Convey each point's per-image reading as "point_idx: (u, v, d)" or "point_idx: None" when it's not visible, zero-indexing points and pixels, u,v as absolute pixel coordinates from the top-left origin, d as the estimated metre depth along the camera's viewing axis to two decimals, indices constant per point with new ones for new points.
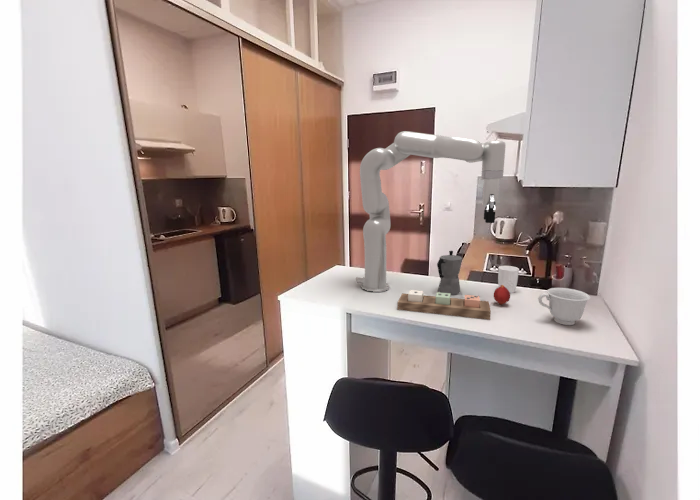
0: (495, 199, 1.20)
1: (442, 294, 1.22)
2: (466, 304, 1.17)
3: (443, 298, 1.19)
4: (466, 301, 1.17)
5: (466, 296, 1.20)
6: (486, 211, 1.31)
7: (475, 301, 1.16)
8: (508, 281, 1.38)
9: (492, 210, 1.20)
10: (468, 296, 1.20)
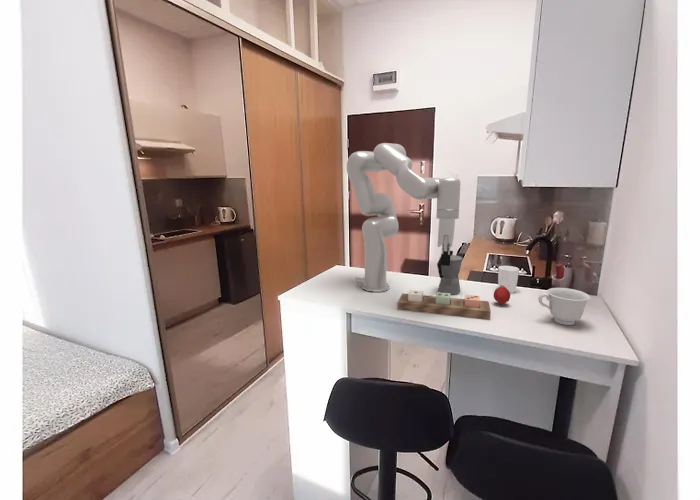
0: (449, 246, 1.14)
1: (442, 294, 1.22)
2: (466, 304, 1.17)
3: (443, 298, 1.19)
4: (466, 301, 1.17)
5: (466, 296, 1.20)
6: None
7: (475, 301, 1.16)
8: (508, 281, 1.38)
9: (446, 253, 1.16)
10: (468, 296, 1.20)
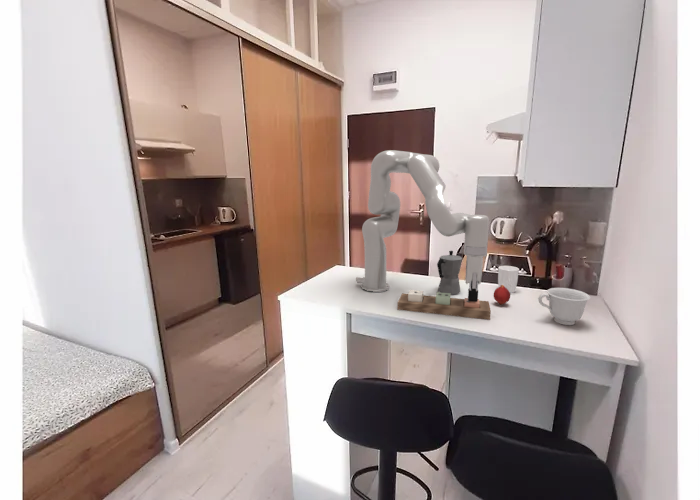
0: (478, 283, 1.13)
1: (442, 294, 1.22)
2: None
3: (443, 298, 1.19)
4: (466, 304, 1.17)
5: (466, 299, 1.20)
6: None
7: (475, 304, 1.16)
8: (508, 281, 1.38)
9: (475, 289, 1.15)
10: None
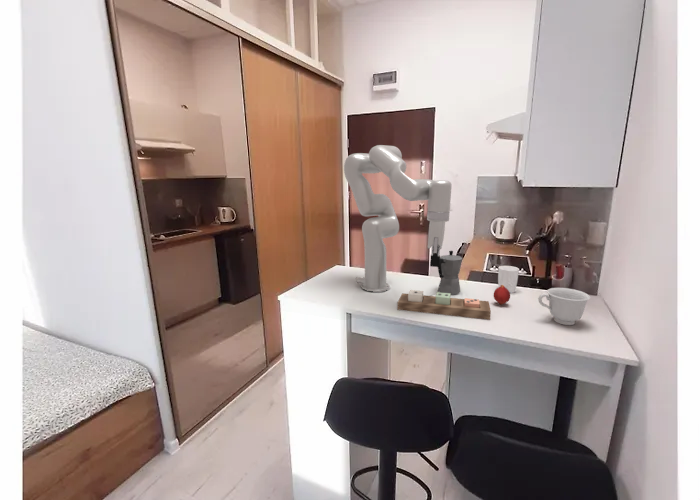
0: (439, 248, 1.15)
1: (442, 294, 1.22)
2: None
3: (443, 298, 1.19)
4: (466, 305, 1.17)
5: (466, 299, 1.20)
6: None
7: (475, 304, 1.16)
8: (508, 281, 1.38)
9: (436, 255, 1.18)
10: (468, 300, 1.20)
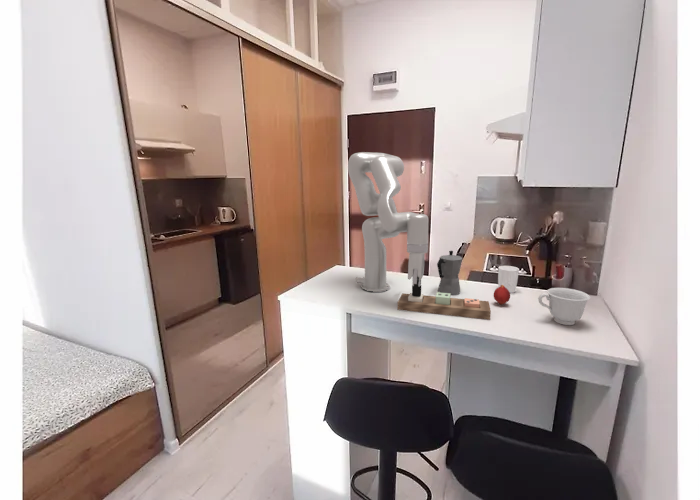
0: (419, 279, 1.19)
1: (442, 294, 1.22)
2: None
3: (443, 298, 1.19)
4: (466, 305, 1.17)
5: (466, 299, 1.20)
6: None
7: (475, 304, 1.16)
8: (508, 281, 1.38)
9: (417, 285, 1.22)
10: (468, 300, 1.20)
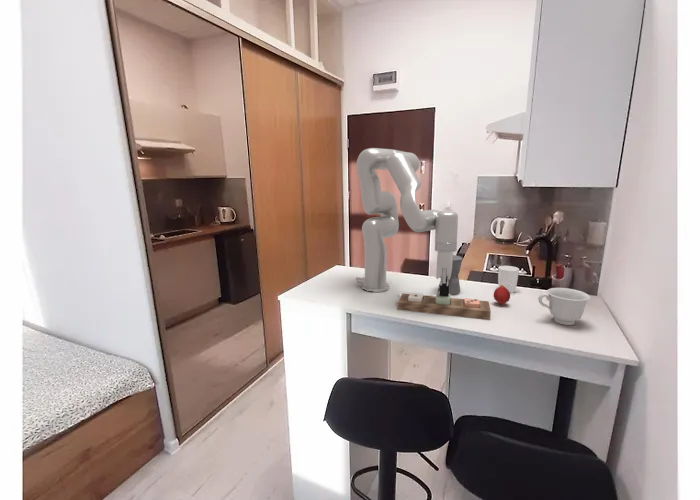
0: (448, 278, 1.16)
1: None
2: None
3: (443, 299, 1.19)
4: (466, 305, 1.17)
5: (466, 299, 1.20)
6: None
7: (475, 304, 1.16)
8: (508, 281, 1.38)
9: (445, 284, 1.18)
10: (468, 300, 1.20)
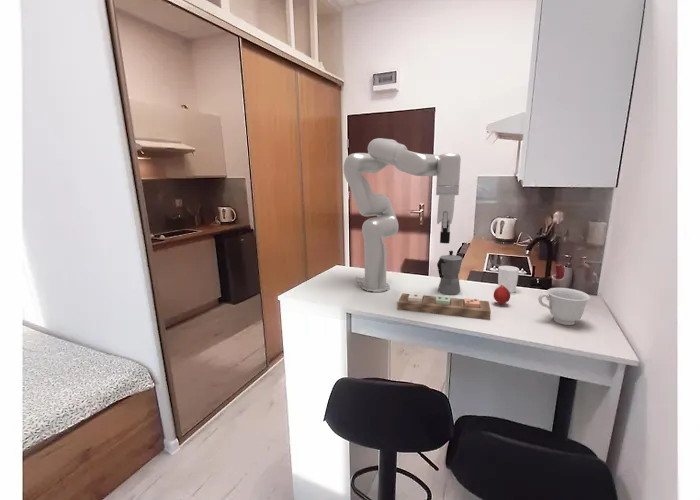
0: (449, 223, 1.12)
1: (442, 297, 1.23)
2: None
3: (443, 301, 1.20)
4: (466, 305, 1.17)
5: (466, 299, 1.20)
6: None
7: (475, 304, 1.16)
8: (508, 281, 1.38)
9: (446, 230, 1.15)
10: (468, 300, 1.20)
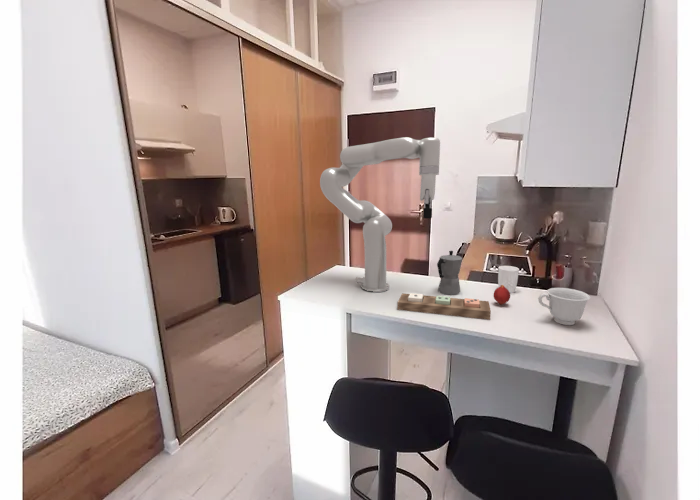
0: (430, 199, 1.27)
1: (442, 297, 1.23)
2: None
3: (443, 301, 1.20)
4: (466, 305, 1.17)
5: (466, 299, 1.20)
6: None
7: (475, 304, 1.16)
8: (508, 281, 1.38)
9: (428, 206, 1.29)
10: (468, 300, 1.20)
